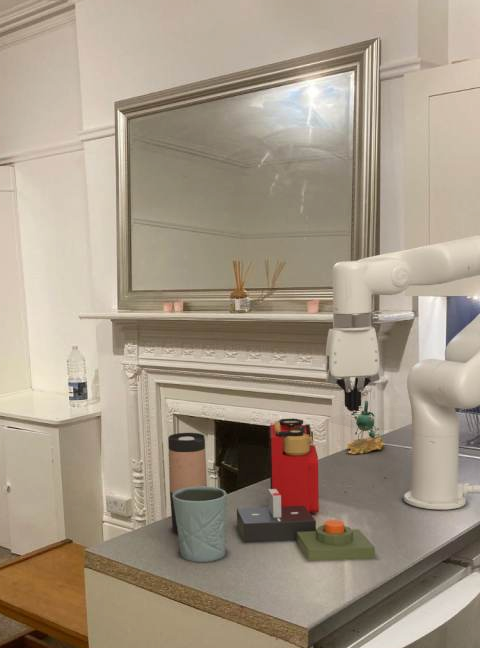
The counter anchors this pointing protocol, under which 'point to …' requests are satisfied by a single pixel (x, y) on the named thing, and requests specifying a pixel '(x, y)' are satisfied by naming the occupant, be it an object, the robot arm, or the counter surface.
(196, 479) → the travel mug
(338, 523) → the button
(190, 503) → the teal embossed cup
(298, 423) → the red coffee machine
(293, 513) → the plate
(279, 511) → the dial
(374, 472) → the counter surface
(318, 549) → the button block
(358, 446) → the green character figurine
